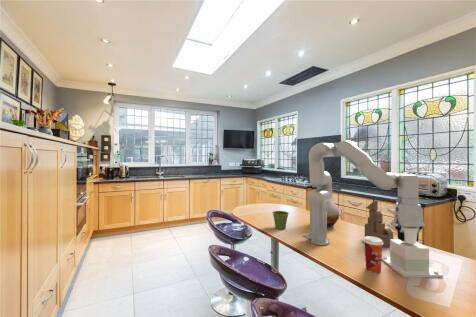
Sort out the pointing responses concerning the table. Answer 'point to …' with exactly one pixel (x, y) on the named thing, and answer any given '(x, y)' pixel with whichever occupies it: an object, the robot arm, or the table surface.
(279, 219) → the plant pot
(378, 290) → the table surface
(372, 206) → the wooden toy
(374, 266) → the paper cup
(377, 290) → the table surface
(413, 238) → the white cylinder
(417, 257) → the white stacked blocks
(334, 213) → the jug
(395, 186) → the robot arm
